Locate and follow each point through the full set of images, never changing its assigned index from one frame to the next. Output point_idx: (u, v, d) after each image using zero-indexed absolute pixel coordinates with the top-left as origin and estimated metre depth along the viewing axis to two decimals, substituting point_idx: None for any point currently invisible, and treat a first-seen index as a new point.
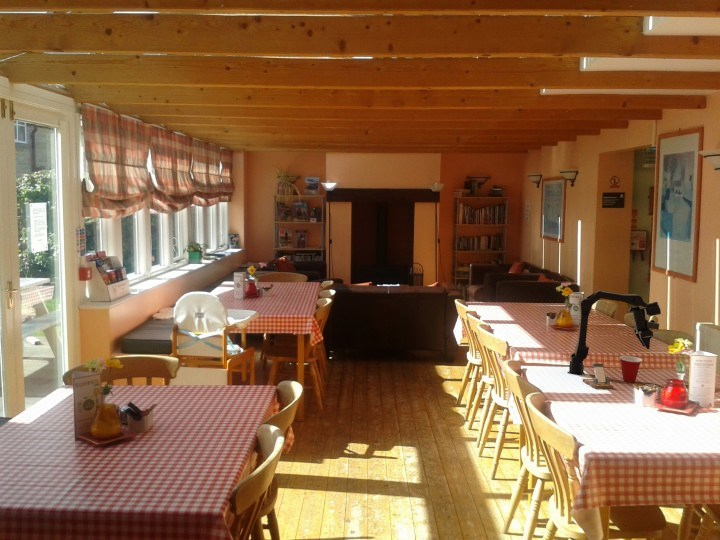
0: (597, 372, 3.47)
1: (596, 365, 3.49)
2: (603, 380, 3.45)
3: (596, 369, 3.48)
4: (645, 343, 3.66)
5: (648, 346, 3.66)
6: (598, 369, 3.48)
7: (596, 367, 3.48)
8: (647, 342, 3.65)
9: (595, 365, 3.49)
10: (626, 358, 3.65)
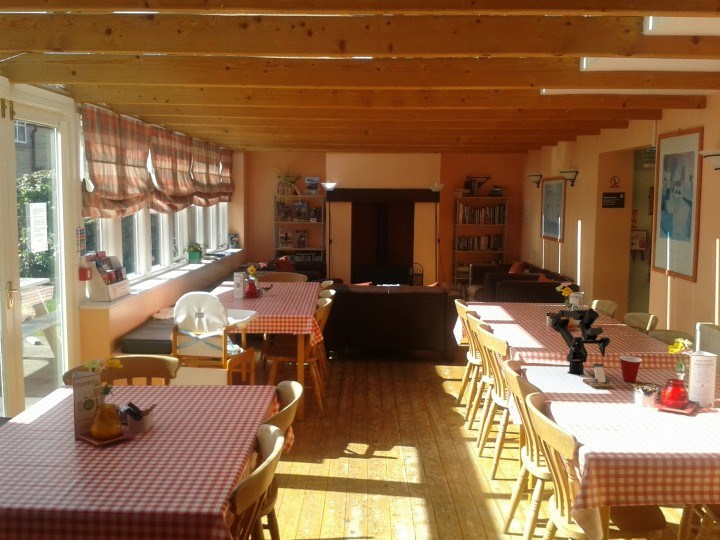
0: (597, 372, 3.47)
1: (596, 365, 3.49)
2: (603, 380, 3.45)
3: (596, 369, 3.48)
4: (581, 351, 3.59)
5: (584, 353, 3.57)
6: (598, 369, 3.48)
7: (596, 367, 3.48)
8: (582, 349, 3.59)
9: (595, 365, 3.49)
10: (626, 358, 3.65)
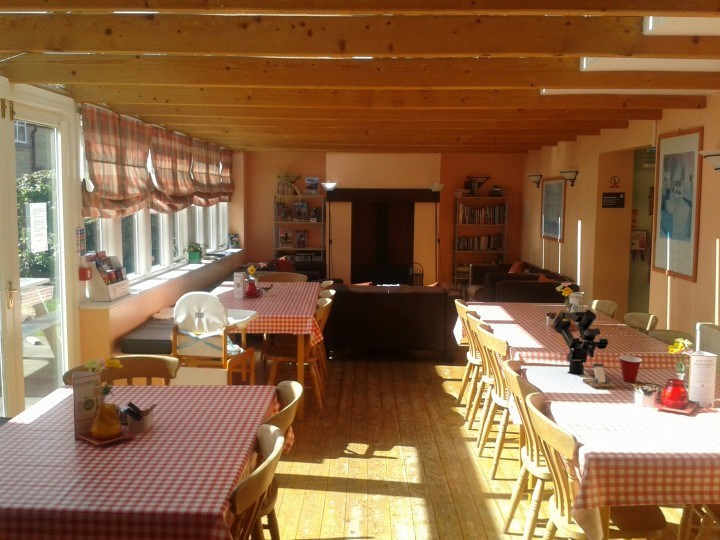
0: (597, 372, 3.47)
1: (596, 365, 3.49)
2: (603, 380, 3.45)
3: (596, 369, 3.48)
4: (587, 352, 3.60)
5: (590, 354, 3.58)
6: (598, 369, 3.48)
7: (596, 367, 3.48)
8: (588, 350, 3.59)
9: (595, 365, 3.49)
10: (626, 358, 3.65)
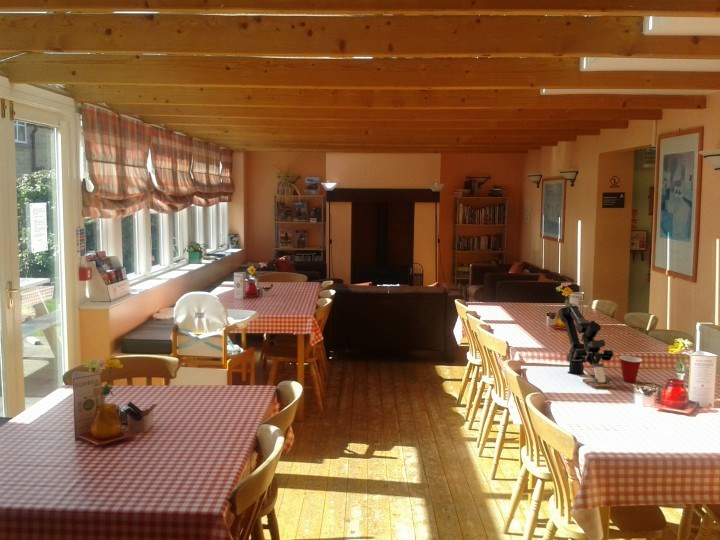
0: (597, 372, 3.47)
1: (596, 365, 3.49)
2: (603, 380, 3.45)
3: (596, 369, 3.48)
4: (592, 364, 3.54)
5: None
6: (598, 369, 3.48)
7: (596, 367, 3.48)
8: (592, 362, 3.53)
9: (595, 365, 3.49)
10: (626, 358, 3.65)
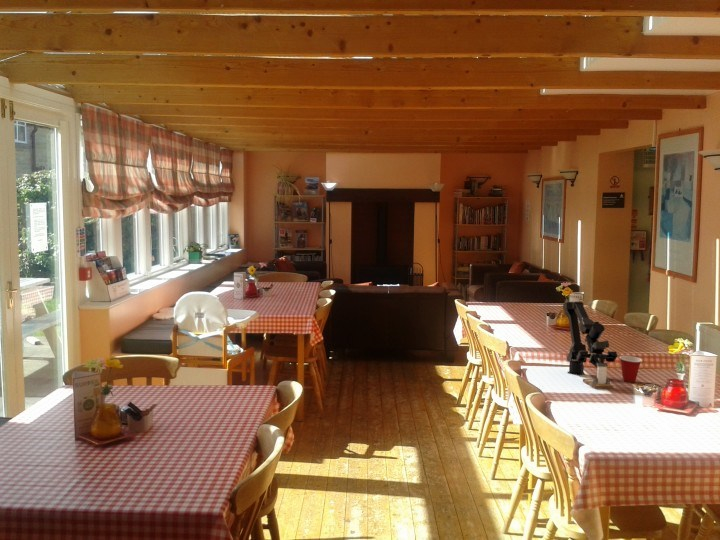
0: (600, 372, 3.44)
1: (600, 365, 3.44)
2: (604, 381, 3.45)
3: (599, 369, 3.44)
4: (596, 366, 3.49)
5: None
6: (601, 369, 3.44)
7: (600, 367, 3.44)
8: (596, 364, 3.48)
9: (599, 365, 3.44)
10: (626, 358, 3.65)
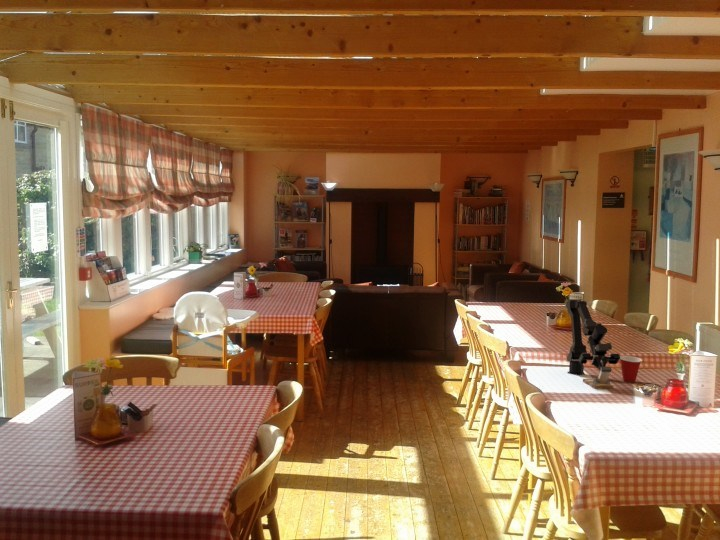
0: (601, 376, 3.42)
1: (604, 371, 3.40)
2: (604, 382, 3.44)
3: (602, 373, 3.41)
4: (598, 368, 3.46)
5: None
6: (604, 373, 3.41)
7: (603, 372, 3.40)
8: (599, 366, 3.45)
9: (603, 371, 3.40)
10: (626, 358, 3.65)
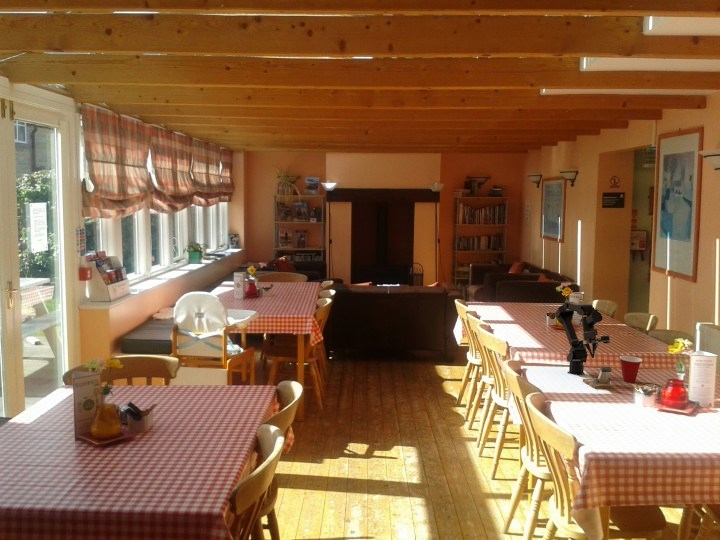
0: (601, 376, 3.42)
1: (604, 371, 3.40)
2: (604, 382, 3.44)
3: (602, 373, 3.41)
4: None
5: None
6: (604, 373, 3.41)
7: (603, 372, 3.40)
8: (589, 351, 3.61)
9: (603, 371, 3.40)
10: (626, 358, 3.65)
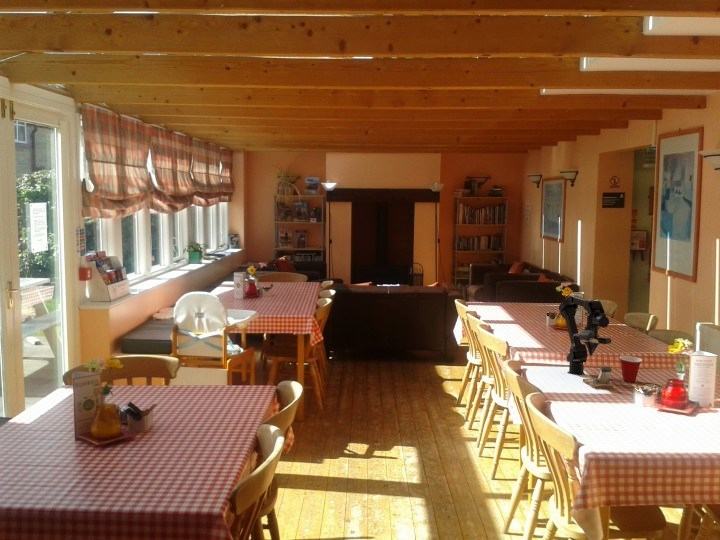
0: (601, 376, 3.42)
1: (604, 371, 3.40)
2: (604, 382, 3.44)
3: (602, 373, 3.41)
4: None
5: None
6: (604, 373, 3.41)
7: (603, 372, 3.40)
8: None
9: (603, 371, 3.40)
10: (626, 358, 3.65)
